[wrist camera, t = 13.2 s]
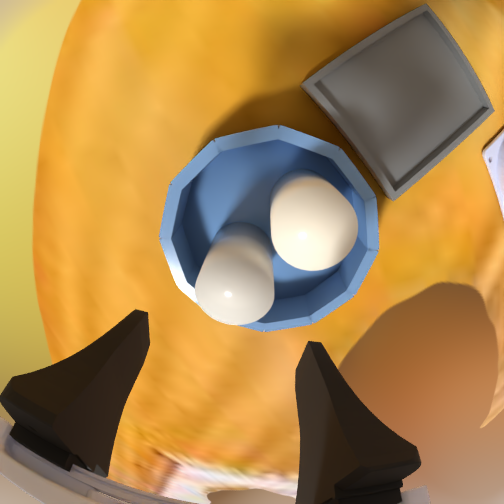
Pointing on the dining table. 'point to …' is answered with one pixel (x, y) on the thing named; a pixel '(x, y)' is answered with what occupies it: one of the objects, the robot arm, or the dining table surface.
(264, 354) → the dining table surface
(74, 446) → the robot arm
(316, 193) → the white rounded capsule
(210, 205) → the bowl
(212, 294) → the cylinder
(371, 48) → the tray
